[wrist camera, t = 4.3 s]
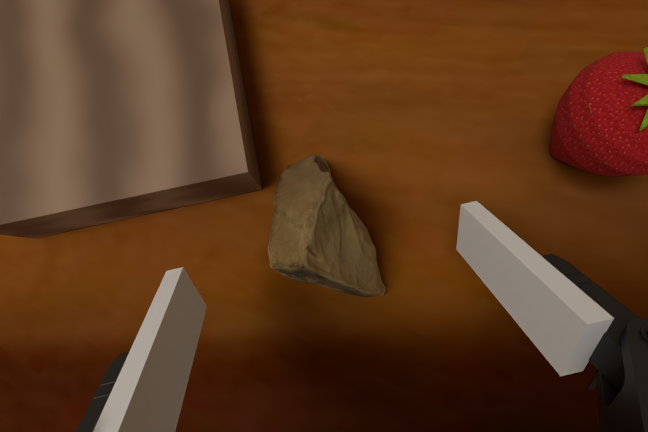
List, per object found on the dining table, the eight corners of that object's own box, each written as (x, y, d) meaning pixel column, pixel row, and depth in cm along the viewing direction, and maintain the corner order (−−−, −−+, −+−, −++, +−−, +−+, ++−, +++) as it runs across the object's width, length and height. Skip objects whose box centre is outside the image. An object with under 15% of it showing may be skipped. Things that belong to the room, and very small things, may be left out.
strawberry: (575, 101, 24) (749, -21, 14) (611, 190, 22) (834, 123, 12) (504, 115, 24) (626, 2, 14) (535, 205, 22) (698, 149, 12)
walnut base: (228, 2, 26) (210, -46, 22) (262, 189, 23) (247, 171, 19) (31, 42, 26) (-22, 1, 22) (34, 238, 23) (-29, 230, 19)
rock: (257, 135, 21) (218, 272, 18) (329, 70, 15) (286, 269, 11) (364, 190, 27) (348, 302, 24) (451, 162, 20) (445, 312, 17)
